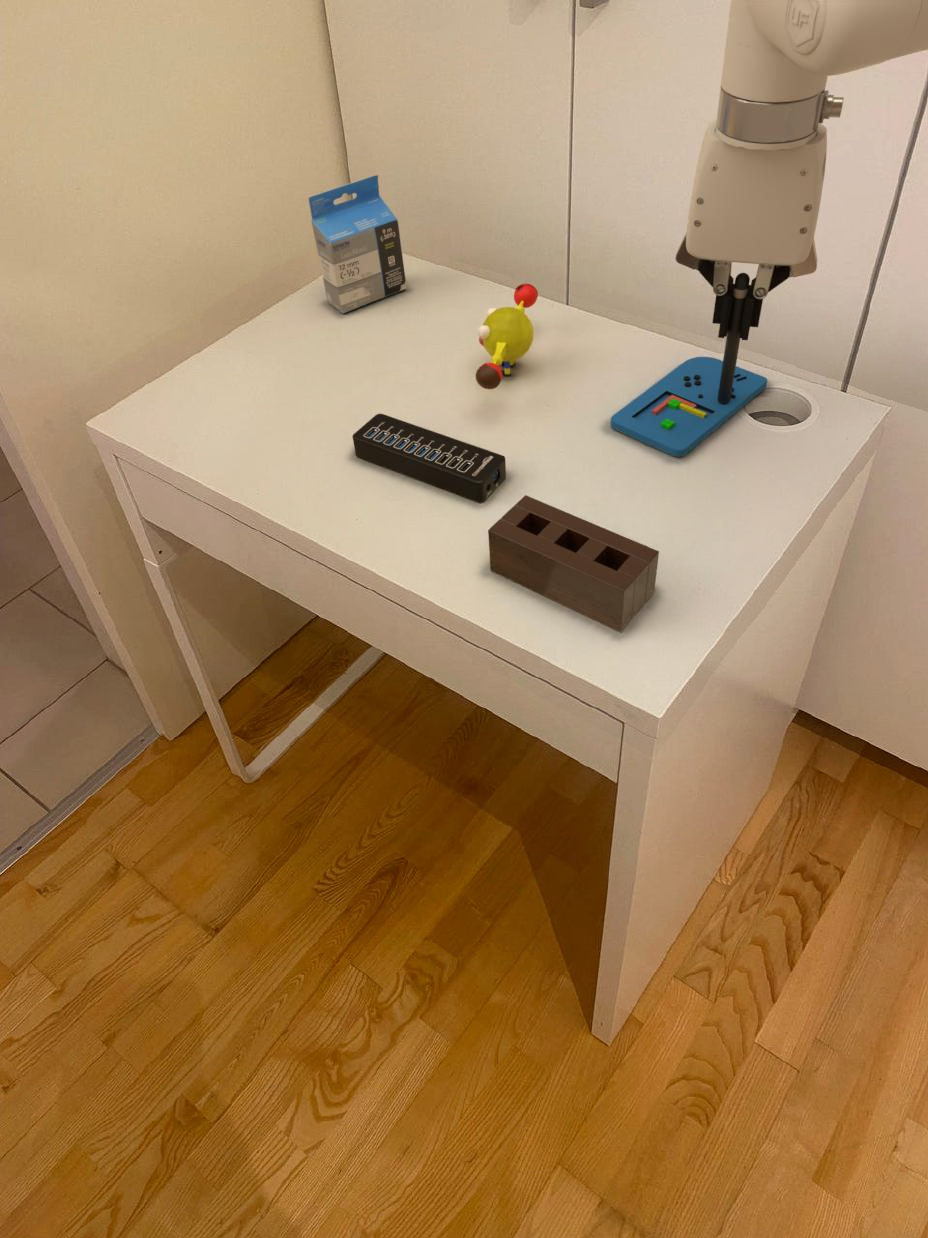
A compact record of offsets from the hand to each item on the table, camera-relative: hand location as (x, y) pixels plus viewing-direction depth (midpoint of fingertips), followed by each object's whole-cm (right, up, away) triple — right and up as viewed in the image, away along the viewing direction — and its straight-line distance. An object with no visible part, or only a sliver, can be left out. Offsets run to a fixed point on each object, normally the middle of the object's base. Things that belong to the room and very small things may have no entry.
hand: (734, 330), depth 86 cm
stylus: (+1, -5, +6) cm, 8 cm away
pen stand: (-16, -23, -8) cm, 29 cm away
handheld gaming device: (-2, -5, +7) cm, 9 cm away
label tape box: (-36, +12, +26) cm, 46 cm away
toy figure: (-20, 0, +14) cm, 24 cm away
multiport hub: (-27, -12, +3) cm, 30 cm away
